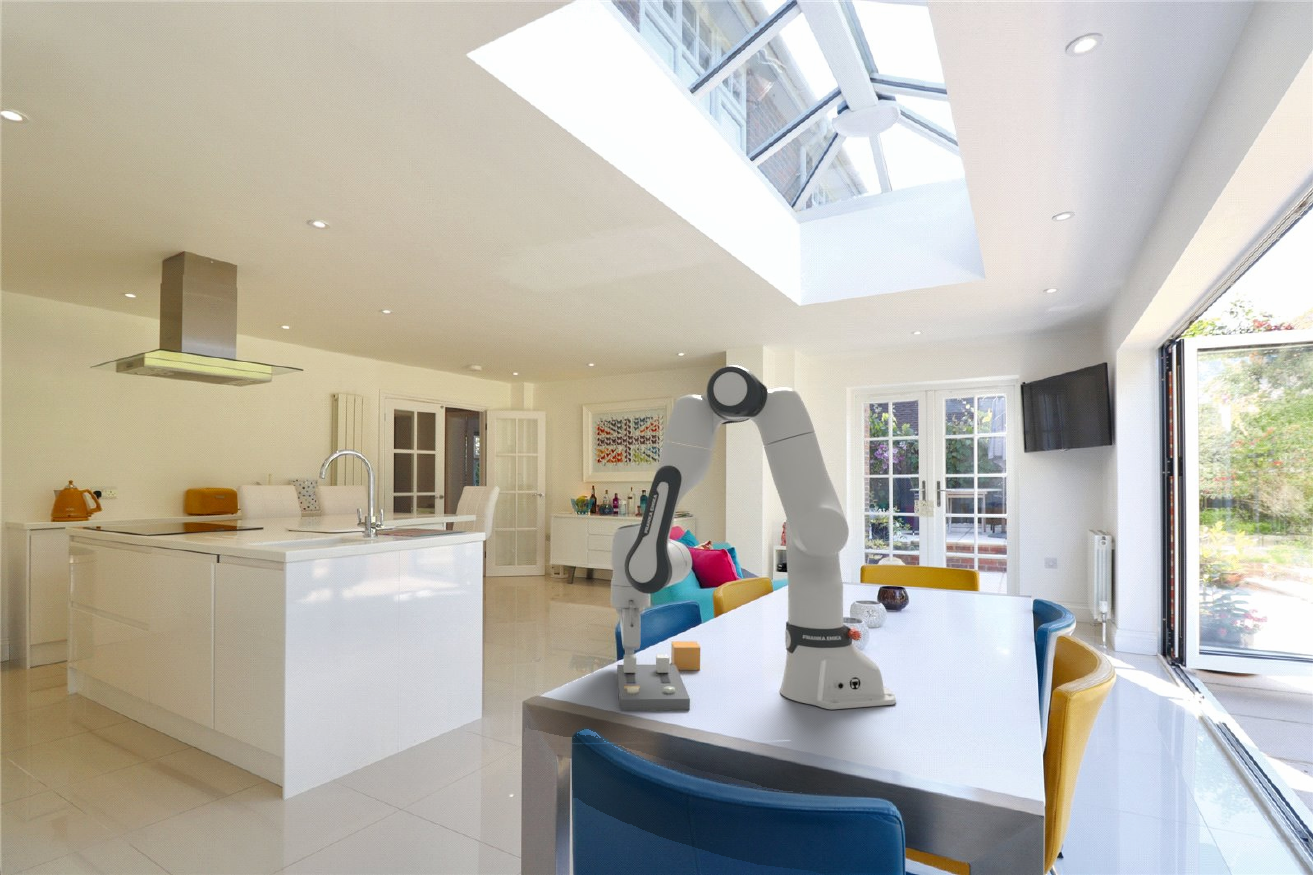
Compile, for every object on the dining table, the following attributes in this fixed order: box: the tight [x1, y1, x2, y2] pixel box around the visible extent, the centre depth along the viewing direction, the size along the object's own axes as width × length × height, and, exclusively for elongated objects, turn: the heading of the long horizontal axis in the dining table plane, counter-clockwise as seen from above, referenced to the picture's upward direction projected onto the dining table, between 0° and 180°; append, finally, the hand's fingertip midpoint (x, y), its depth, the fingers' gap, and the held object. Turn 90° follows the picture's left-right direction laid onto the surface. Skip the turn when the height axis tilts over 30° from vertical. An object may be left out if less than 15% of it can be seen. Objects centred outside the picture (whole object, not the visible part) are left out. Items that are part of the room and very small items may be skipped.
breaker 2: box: [655, 653, 670, 673], centre depth 139 cm, size 3×3×3 cm
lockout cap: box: [670, 640, 701, 671], centre depth 152 cm, size 6×6×5 cm
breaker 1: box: [622, 654, 637, 673], centre depth 139 cm, size 3×3×3 cm
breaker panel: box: [616, 664, 691, 711], centre depth 133 cm, size 13×24×3 cm, turn 5°
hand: (629, 660), depth 144 cm, fingers closed
